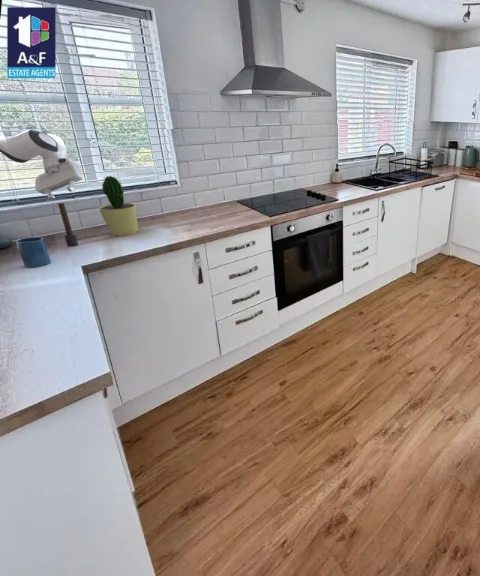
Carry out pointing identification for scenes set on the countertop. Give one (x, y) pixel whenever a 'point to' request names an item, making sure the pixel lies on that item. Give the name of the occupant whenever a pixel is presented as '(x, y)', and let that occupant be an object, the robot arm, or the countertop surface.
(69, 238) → the brush
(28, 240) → the blue ribbed tumbler
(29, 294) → the countertop surface
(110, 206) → the potted cactus
